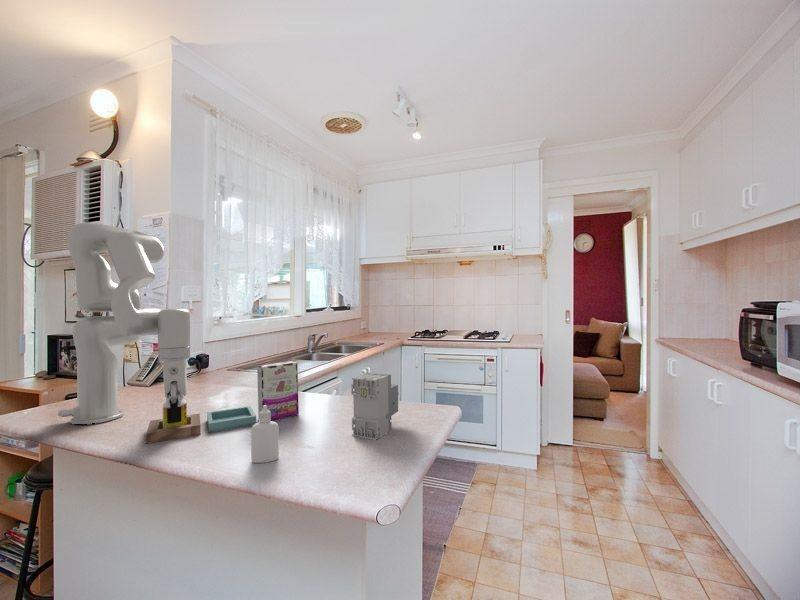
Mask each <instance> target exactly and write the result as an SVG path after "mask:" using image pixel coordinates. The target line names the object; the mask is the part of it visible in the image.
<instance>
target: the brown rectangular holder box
mask: <svg viewBox="0 0 800 600" xmlns="http://www.w3.org/2000/svg"><path fill="white" fill-rule="evenodd" d="M147 426H148V427H147V430H146V432H145V444H146V445H148V444H152V443H153V444H155V443H157V442H164V441H170V440H176V438H177V439H181V437H182V438H188V437H193V436H199V435H201V429H202V428H201V414H200V413H194V414H188V415H187V425H182V426H176V427H170V428H163V418H161V419H153V420H150V421H149V424H148V425H147ZM187 436H188V437H187Z"/></svg>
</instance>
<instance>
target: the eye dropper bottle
mask: <svg viewBox="0 0 800 600" xmlns="http://www.w3.org/2000/svg"><path fill="white" fill-rule="evenodd" d="M270 420H271V411H269V410H267V406H266V405H264V406H263V409H262V411H260V412H259V415H258V422H256V424H254V425H252V426H251V431H250V439H251V441H250V442H251V444H250V445H251V447H250V449H251V452H250V453H251V455H250V456H251V458H250V459H251V462H252V463H253V464H265V463H270V461H271V462H274V461H277V460H278V459H279V455H280V452H279V451H280V449H279V448H280V446H279V444H280V443H279V440H280V439H279V423H277V422H276V421H274V420H272V421H270Z"/></svg>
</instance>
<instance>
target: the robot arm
mask: <svg viewBox="0 0 800 600" xmlns="http://www.w3.org/2000/svg"><path fill="white" fill-rule="evenodd" d="M67 237H68V238H67V246H68V251H69V254H70V257H71V260H72V262H73V266H74V270H75V283H76V284H75V285H76V298H77V304H78V307H79V309H81V310H82V311H84V312H88V313H112V315H101V316H100V315H98V316H97V315H95V316H88V317H84V318H81V319H79V320H78V321H76V322H75V323H74V325H72V332H71V333H72V338H73V341H74V346H75V352H76V374H77V375H76V376H77V377H76V378H77V379H76V380H77V381H76V387H77V388H76V389H77V392H76V393H77V394H76V395H77V396H76V398H77V399H76V400H77V403H76V404H77V405H76V406H74V407H73V408H68V409H67V408H66V409H59V410H58V414H57V415H58V417H59V418H60V417H61V418H65V417H71V418H70V424H71V423H73V424H72V425H74V424H87V425H93V424H92V423H95V424H101V423H105V422H110V421H113V420H116V419H119V418H121V417H123V416H124V414H125V411H124V410H123V409H119V406H118V403H119V402H118V395H119V394H118V359H117V356H116V355H115V354H114V352H113V351H112V350H111V349H110V347H112V346H113V347H114V346H124V345H130V344H134V343H137V342H138V341H140V339H141V338H142V337H143V336H144V337H145V336H157V360H158V362H162V363H163V365H162V366H163V367H162V369H163V372H162V373H163V388H164V397H165V399H166V398H168V408H167V423H168V424H170V423H176V422H181V406H180V394H181V395H183V397H186V395H187V394H188V392H187V391H188V390H187V389H188V387H187V386H188V385H187V382H188V380H187V379H188V378H187V375H188V374H187V369H188V368H187V360H189V359H191V315H190V314H191V313H190V311H189V310H188V309H186V308H165V307H163V308H162V307H157V308H155V307H150V308H149V307H148V308H146V307H145V308H144V307H142V303H141V302H142V301H141V296H140V293H139V291H138V290H139V289H143V288H144V287H146V286H148V285H151V284H152V282H154V281H155V279H156V274H155V272H154V269H153V267H152V265H151V264H156V263H159V262H160V261H162V260H163V258H164V255H165V249H164V244H163V243H162V242H161V241H160V240H159V239H158V238H157V237H156V236H153V235H149V234H146V233H143V232H141V231H138V230H135V229H129V228H124V227H118V226H112V225H107V224H101V223H94V222H81V223H77V224H75V225H74V226H72V227H71V229H70V231H69V233H68V236H67ZM100 253H108V254H109V256H110V259H111V262H112V264H113V267H114V269H115V272H116V275H117V277H118V279H119V282H114V281H113V279H112V270H111V266H110V264H109V263H108V261H107V260H106V259H105V258H104V257H103V256H102V255H101V254H100ZM176 394H179V395H176ZM170 395H171V396H170ZM176 398H177V399H176Z"/></svg>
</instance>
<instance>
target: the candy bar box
mask: <svg viewBox="0 0 800 600" xmlns="http://www.w3.org/2000/svg"><path fill="white" fill-rule="evenodd" d="M256 368H257V374H256V375H257V410H258V411H257V413H258V416H259V412H260V411H262V409H263V406H264V405H266V406H267V410H269V411H271V420H272V421H276V420H275V419H277V420H280V419H279V418H281V419H285V417H286V418H290V417H294V416H298V415H299V414H300V413H299V412H300V411H299V409H300V407H299V377H298V370H299V369H298V362H296V361H293V360H291V361H283V362H276V363H275V362H274V363H268V364H260V365H257V367H256ZM289 416H290V417H289ZM271 420H270V421H271Z"/></svg>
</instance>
